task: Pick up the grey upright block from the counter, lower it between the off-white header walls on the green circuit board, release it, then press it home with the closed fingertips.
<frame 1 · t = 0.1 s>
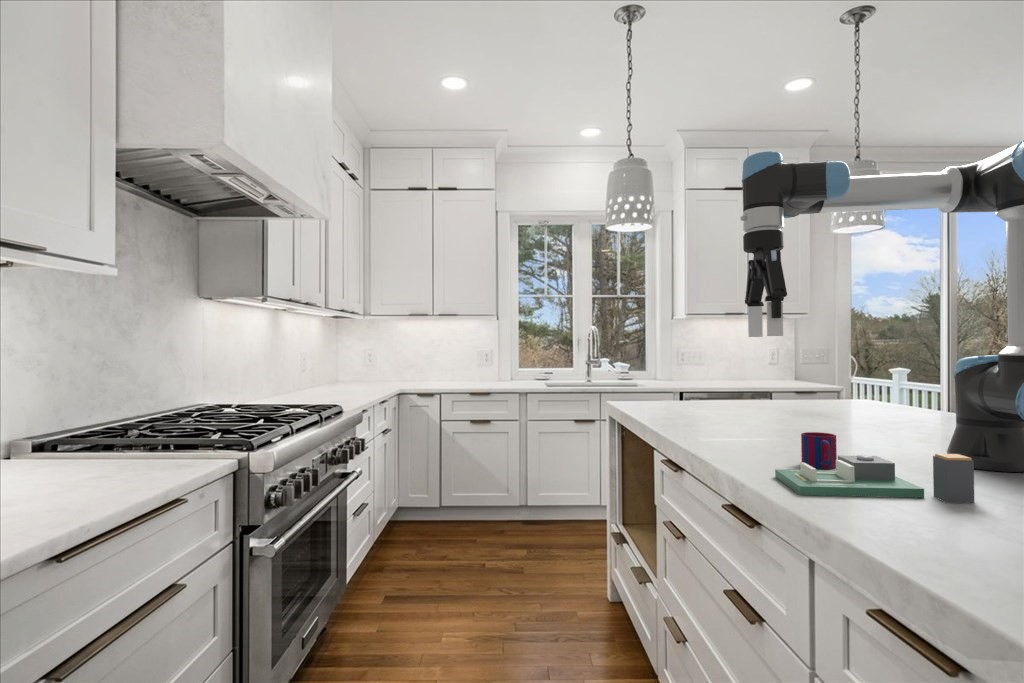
hand: (764, 336, 118), 28 cm above the counter, fingers open, 13 cm apart
grey upright block: (953, 500, 98), on the counter
grey box with tab: (865, 475, 110), resting on board
mug: (820, 468, 124), on the counter
board: (844, 486, 108), on the counter
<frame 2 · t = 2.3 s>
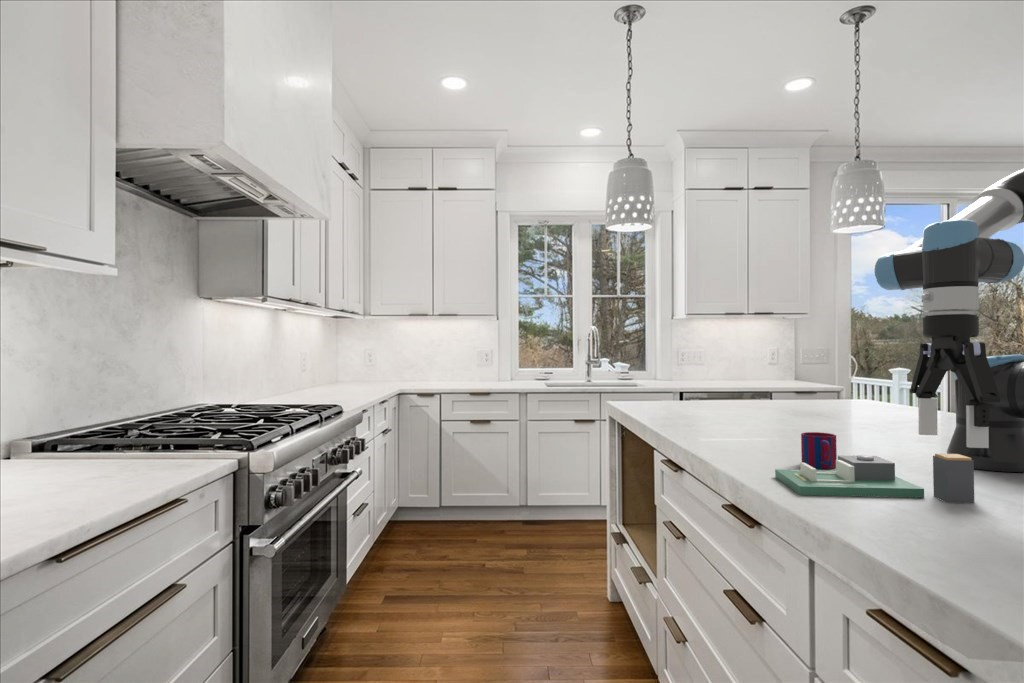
hand: (951, 440, 98), 10 cm above the counter, fingers open, 13 cm apart
nothing on the counter moved.
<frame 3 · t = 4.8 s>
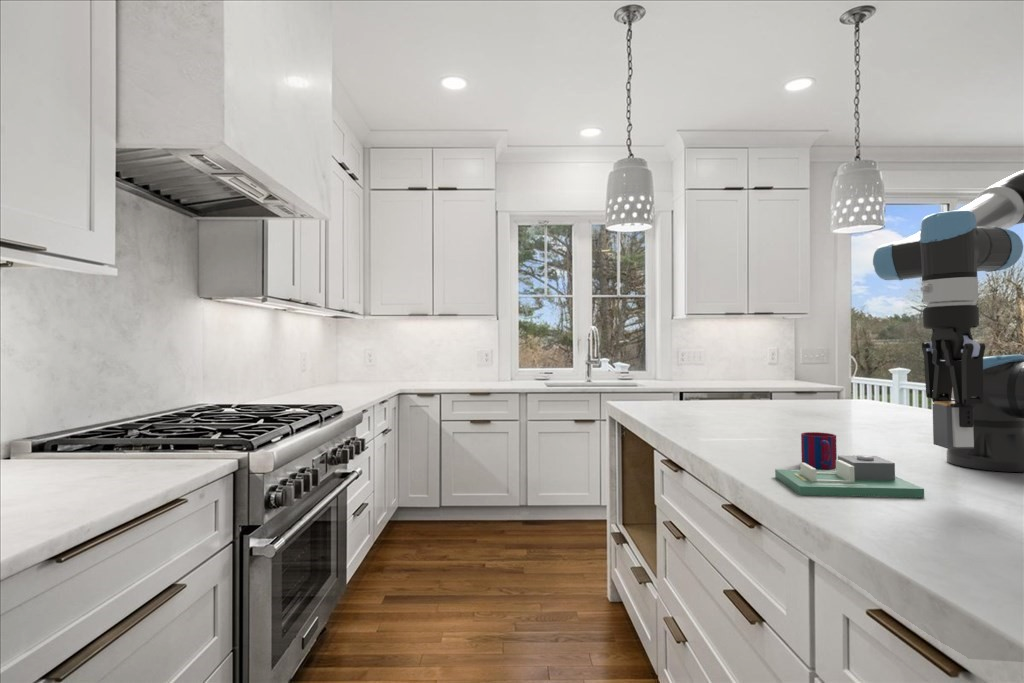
hand: (954, 443, 98), 9 cm above the counter, fingers closed on grey upright block, 4 cm apart
grey upright block: (953, 446, 98), point 9 cm above the counter, touching gripper
everything else where it was.
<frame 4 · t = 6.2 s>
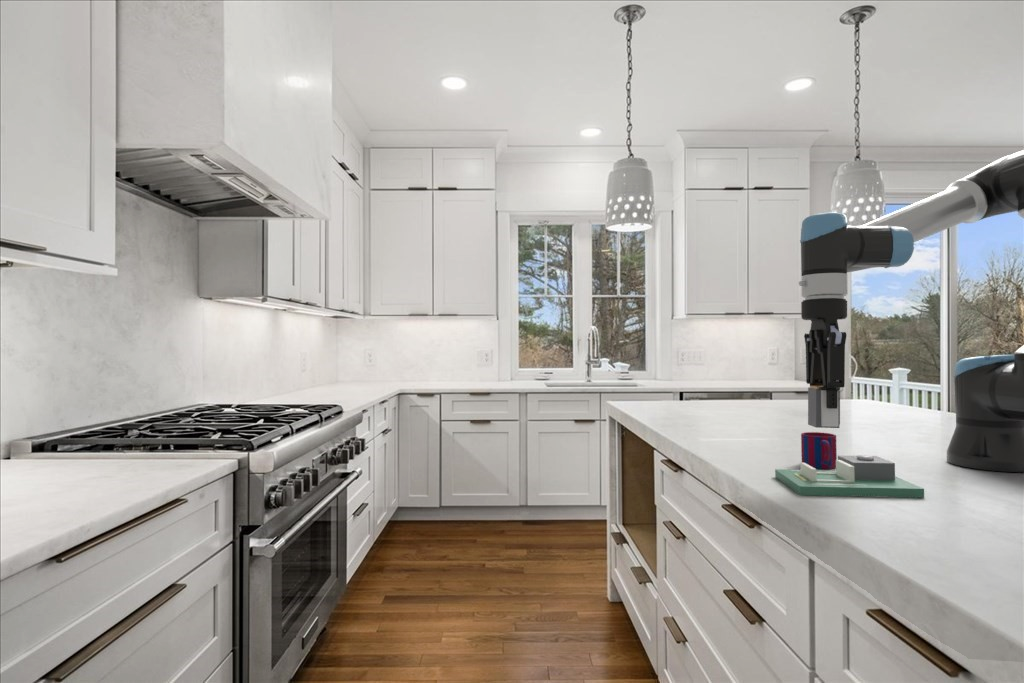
hand: (824, 424, 108), 11 cm above the counter, fingers closed on grey upright block, 4 cm apart
grey upright block: (823, 426, 108), point 11 cm above the counter, touching gripper
everything else where it was.
when the fingers open (2 cm above the counter, at t = 7.7 s): grey upright block stays where it is, resting on board.
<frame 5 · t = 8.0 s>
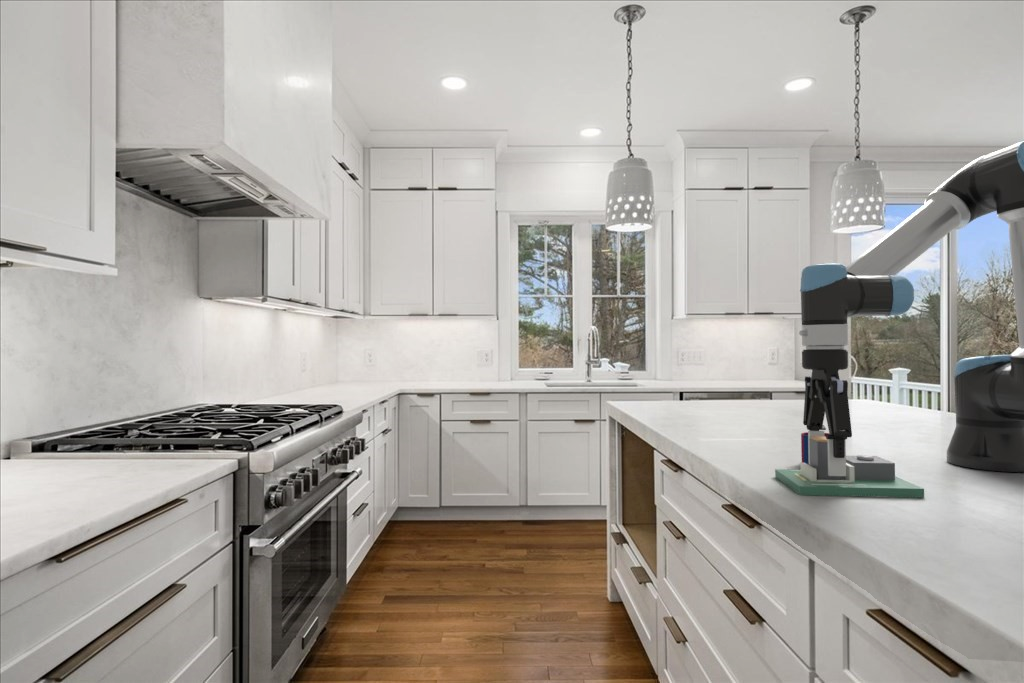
hand: (826, 469, 108), 3 cm above the counter, fingers open, 9 cm apart
grey upright block: (825, 477, 108), point 1 cm above the counter, touching board
everything else where it was.
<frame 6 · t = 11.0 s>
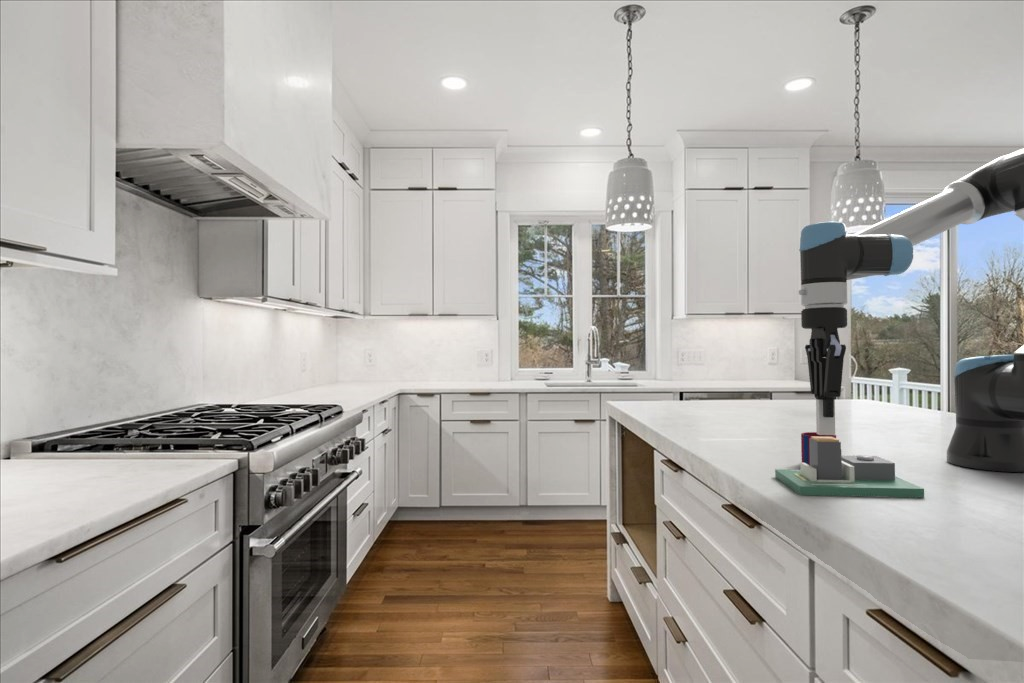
hand: (825, 434, 108), 10 cm above the counter, fingers closed
nothing on the counter moved.
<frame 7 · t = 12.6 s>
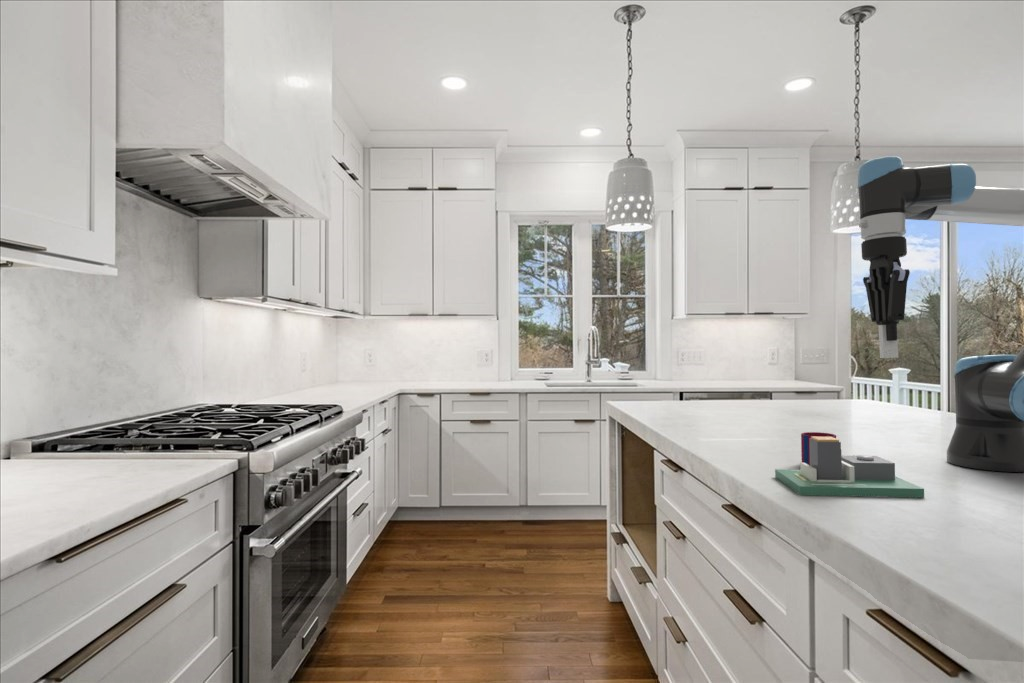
hand: (889, 357, 115), 23 cm above the counter, fingers closed
nothing on the counter moved.
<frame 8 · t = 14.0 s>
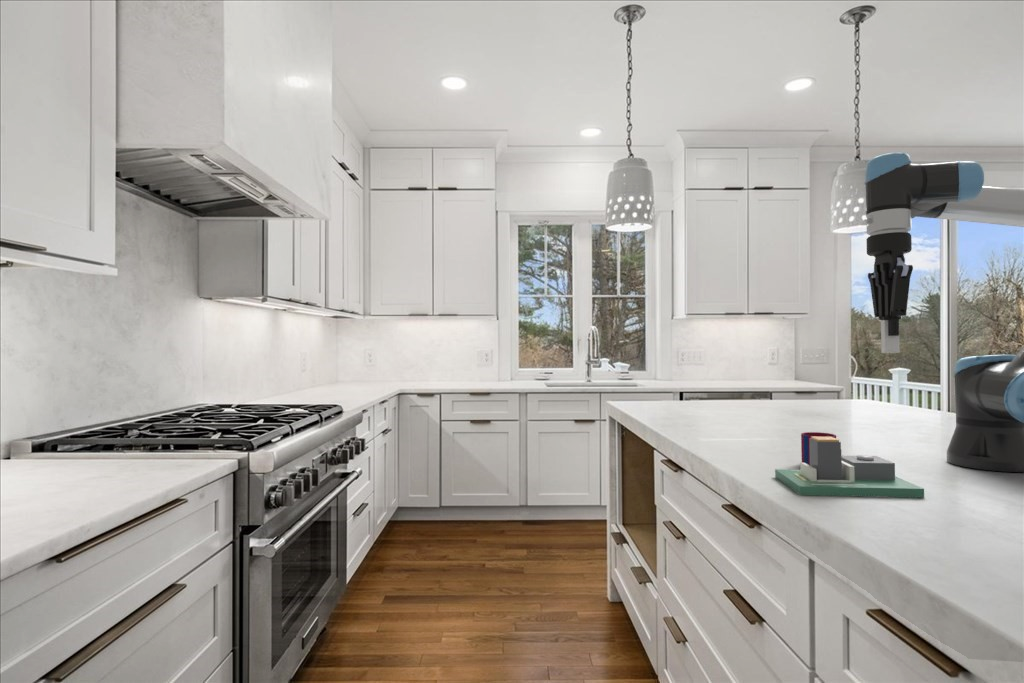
hand: (890, 352, 116), 24 cm above the counter, fingers closed
nothing on the counter moved.
at the end: grey upright block 0.2 cm from the target spot on the board, point 1.5 cm above the board's base; grey upright block tilted 0°; the gripper is holding nothing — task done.
